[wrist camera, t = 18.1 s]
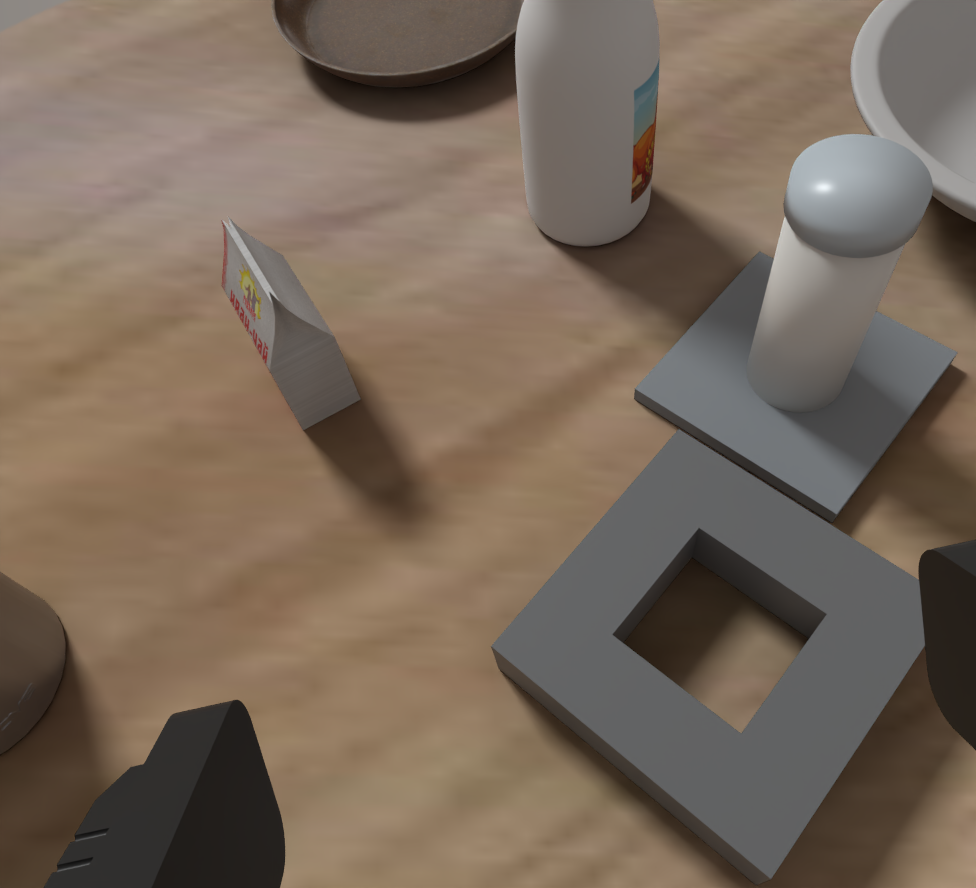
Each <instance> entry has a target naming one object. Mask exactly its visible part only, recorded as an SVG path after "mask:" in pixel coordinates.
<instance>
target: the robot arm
mask: <svg viewBox="0 0 976 888" xmlns="http://www.w3.org/2000/svg"><path fill="white" fill-rule="evenodd" d="M919 585H920V595H921V606H922V617H923V628H924V639H925V650H926V661H927V671H928V677H929V682H930V685H931V689H932V692H933V694H934V697H935V699H936V702H937V704H938V706H939V708H940V710H941V712H942V713H943V715H944V717H945V718H946V720H947V721H948V722H949V724H950V725H951V726H952V727H953V728H954V729H955V730H956V731H957V732H958V733H959V734H960V735H961V736H962V737H963V738H964V739H965V740H966V741H967V742H968V743H969V744H970V745H971V746H972V747H973V748H974V749H975V750H976V540H972V541H967V542H963V543H958V544H954V545H949V546H944V547H940V548H935V549H931V550H927V551H925V552H924V553H923V554H922V556H921V558H920V562H919ZM65 649H66V642H65V637H64V632H63V628H62V625H61V623H60V621H59V619H58V617H57V615H56V613H55V611H54V610H53V609H52V608H51V607H50V606H49V605H48V604H47V603H46V602H45V601H44V600H43V599H41V598H40V597H38V596H37V595H35V594H34V593H32V592H31V591H29V590H28V589H26V588H24V587H23V586H21V585H20V584H18V583H17V582H15V581H14V580H12V579H11V578H9V577H7V576H6V575H4V574H3V573H1V572H0V754H2V753H3V752H5V751H7V750H8V749H10V748H11V747H12V746H13V745H14V744H16V743H17V742H18V741H19V740H21V739H22V738H23V737H24V736H25V735H26V734H27V733H28V732H29V731H30V730H31V729H32V727H33V726H34V725H35V724H36V723H37V722H38V721H39V720H40V718H41V717H42V715H43V714H44V712H45V711H46V709H47V707H48V706H49V704H50V703H51V701H52V700H53V697H54V695H55V693H56V690H57V688H58V686H59V683H60V681H61V677H62V673H63V668H64V664H65ZM284 865H285V838H284V830H283V823H282V819H281V814H280V811H279V807H278V804H277V801H276V798H275V795H274V791H273V788H272V785H271V782H270V779H269V776H268V772H267V769H266V766H265V763H264V760H263V756H262V753H261V750H260V747H259V744H258V740H257V737H256V734H255V731H254V728H253V724H252V721H251V718H250V716H249V713H248V711H247V709H246V707H245V706H244V704H243V703H242V702H241V701H239V700H233V701H229V702H224V703H220V704H215V705H210V706H206V707H201V708H197V709H192V710H188V711H183V712H178V713H175V714H173V715H171V716H170V718H169V719H168V721H167V723H166V724H165V726H164V728H163V730H162V732H161V734H160V736H159V737H158V739H157V741H156V743H155V745H154V747H153V748H152V750H151V752H150V754H149V756H148V758H147V759H146V761H145V763H144V764H143V765H138V766H134V767H130V768H129V769H128V770H127V771H126V772H125V773H124V774H123V775H122V776H121V777H120V778H119V779H118V780H117V781H116V782H114V783H113V784H112V785H111V786H110V787H109V788H108V789H107V790H106V791H105V792H104V793H103V794H102V795H101V796H100V797H98V798H97V799H96V800H95V802H94V804H93V805H92V807H91V809H90V810H89V812H88V814H87V815H86V817H85V819H84V820H83V822H82V824H81V825H80V827H79V829H78V830H77V832H76V834H75V841H74V842H70V844H69V846H68V847H67V849H66V851H65V852H64V854H63V856H62V857H61V859H60V861H59V863H58V864H57V867H58V870H57V872H54V873H52V874H51V876H50V878H49V879H48V881H47V883H46V884H45V886H44V888H280V885H281V881H282V877H283V872H284Z"/></svg>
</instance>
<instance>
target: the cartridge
mask: <svg viewBox="0 0 976 888" xmlns="http://www.w3.org/2000/svg"><path fill="white" fill-rule="evenodd" d="M932 192H933V183H932V178H931V175H930V172H929V170H928V169H927V167H926V165H925V164H924V163H923V162H922V160H921V159H920V158H919V157H918V156H917V155H916V154H914V153H913V152H912V151H910V150H909V149H907V148H906V147H904V146H902V145H900V144H898V143H896V142H894V141H891V140H888V139H885V138H881V137H877V136H872V135H863V134H847V135H839V136H834V137H830V138H826V139H824V140H821V141H819V142H817V143H815V144H813V145H811V146H810V147H808V148H807V149H805V150H804V151H803V152H802V153H801V154H800V155H799V157H798V158H797V159H796V161H795V162H794V164H793V167H792V170H791V173H790V177H789V181H788V186H787V190H786V194H785V198H784V213H785V217H784V221H783V225H782V229H781V233H780V237H779V241H778V245H777V249H776V253H775V257H774V260H773V264H772V268H771V272H770V276H769V280H768V284H767V288H766V292H765V296H764V300H763V304H762V307H761V311H760V315H759V319H758V323H757V327H756V331H755V335H754V339H753V343H752V347H751V351H750V354H749V358H748V362H747V378H748V381H749V383H750V385H751V387H752V389H753V390H754V392H755V393H756V394H757V395H758V396H759V397H760V398H761V399H762V400H763V401H765V402H766V403H768V404H769V405H771V406H773V407H776V408H778V409H781V410H785V411H789V412H799V413H802V412H811V411H815V410H819V409H821V408H823V407H825V406H827V405H829V404H830V403H831V402H833V401H834V400H835V399H836V398H837V397H838V395H839V394H840V392H841V390H842V388H843V386H844V383H845V381H846V379H847V376H848V374H849V372H850V369H851V367H852V365H853V363H854V360H855V358H856V356H857V353H858V351H859V349H860V347H861V344H862V342H863V340H864V337H865V335H866V333H867V330H868V328H869V326H870V324H871V321H872V319H873V317H874V314H875V312H876V310H877V307H878V305H879V303H880V301H881V298H882V296H883V294H884V291H885V289H886V287H887V284H888V282H889V280H890V278H891V275H892V273H893V271H894V268H895V266H896V264H897V261H898V259H899V257H900V255H901V252H902V250H903V248H904V245H905V243H907V242H908V241H909V240H910V239H911V238H912V237H913V235H914V234H915V232H916V231H917V228H918V226H919V224H920V222H921V220H922V217H923V215H924V213H925V210H926V208H927V206H928V204H929V201H930V199H931V196H932Z"/></svg>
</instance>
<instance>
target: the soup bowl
mask: <svg viewBox="0 0 976 888" xmlns="http://www.w3.org/2000/svg"><path fill="white" fill-rule="evenodd" d="M851 84H852V90H853V96H854V99H855V102H856V105H857V108H858V110H859V112H860V114H861V116H862V118H863V120H864V122H865V124H866V126H867V127H868V129H869V130H870V132H871V133H872V135H873V136H877V137H881V138H885V139H888V140H891V141H894V142H896V143H898V144H900V145H902V146H904V147H906V148H907V149H909V150H910V151H912V152H913V153H914V154H916V155H917V156H918V157H919V158H920V159H921V160H922V162H923V163H924V164H925V165H926V167H927V169H928V170H929V172H930V175H931V178H932V183H933V192H932V195H933V196H934V197H935V198H936V199H938V200H939V201H940V202H942V203H943V204H945V205H946V206H948V207H949V208H950V209H952V210H954V211H955V212H957V213H959V214H961V215H962V216H964V217H966V218H968V219H970V220H972V221H974V222H976V0H883V1H882V2H881V3H880V4H879V5H878V6H877V7H876V8H875V10H874V11H873V12H872V13H871V14H870V16H869V17H868V19H867V20H866V22H865V23H864V25H863V27H862V28H861V30H860V33H859V35H858V37H857V39H856V42H855V45H854V48H853V52H852V59H851Z"/></svg>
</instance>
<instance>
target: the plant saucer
mask: <svg viewBox="0 0 976 888" xmlns="http://www.w3.org/2000/svg"><path fill="white" fill-rule="evenodd" d="M523 2H524V0H272V4H271V6H272V14H273V19H274V22H275V25H276V27H277V28H278V30H279V32H280V34H281V35H282V37H283V38H284V39H285V40H286V41H287V43H288V44H289V45H290V46H291V47H292V48H294V49H295V50H296V51H297V52H298V53H299V54H301V55H302V56H303V57H304V58H306V59H307V60H309V61H310V62H312V63H313V64H315V65H316V66H318V67H320V68H322V69H324V70H325V71H327V72H329V73H332V74H334V75H336V76H339V77H341V78H344V79H347V80H351V81H354V82H358V83H362V84H367V85H372V86H379V87H415V86H422V85H428V84H433V83H438V82H441V81H445V80H448V79H451V78H454V77H457V76H459V75H462V74H464V73H466V72H468V71H470V70H473V69H475V68H477V67H478V66H480V65H482V64H484V63H485V62H487V61H488V60H490V59H491V58H493V57H494V56H495V55H497V54H498V53H499V52H501V51H502V50H503V49H504V48H505V47H506V46H508V45H509V44H510V43H511V42H512V41H513V40H514V39H515V38H516V31H517V24H518V19H519V15H520V11H521V8H522V5H523Z"/></svg>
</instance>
